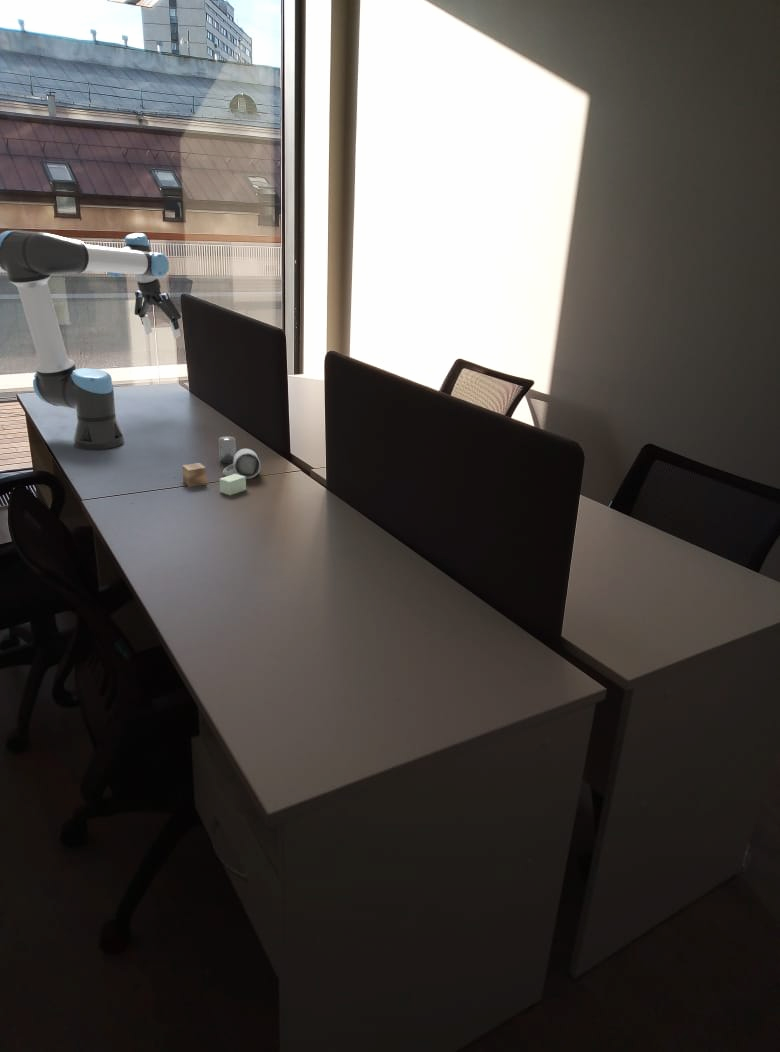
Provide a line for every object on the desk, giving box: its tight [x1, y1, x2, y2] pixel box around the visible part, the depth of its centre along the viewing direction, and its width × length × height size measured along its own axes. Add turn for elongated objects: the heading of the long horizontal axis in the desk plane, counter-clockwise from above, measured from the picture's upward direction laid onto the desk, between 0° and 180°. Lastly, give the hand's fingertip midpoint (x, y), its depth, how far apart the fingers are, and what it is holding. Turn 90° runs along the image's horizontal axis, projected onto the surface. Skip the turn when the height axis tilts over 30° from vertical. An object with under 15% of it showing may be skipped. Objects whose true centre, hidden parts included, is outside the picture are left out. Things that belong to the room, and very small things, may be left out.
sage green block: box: [219, 474, 247, 496], centre depth 212 cm, size 6×4×4 cm, turn 143°
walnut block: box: [181, 462, 207, 488], centre depth 217 cm, size 5×5×5 cm
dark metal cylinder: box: [218, 435, 237, 464], centre depth 236 cm, size 5×5×7 cm
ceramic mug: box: [222, 448, 261, 480], centre depth 224 cm, size 11×8×8 cm
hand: (163, 335), depth 285 cm, fingers open, 13 cm apart
